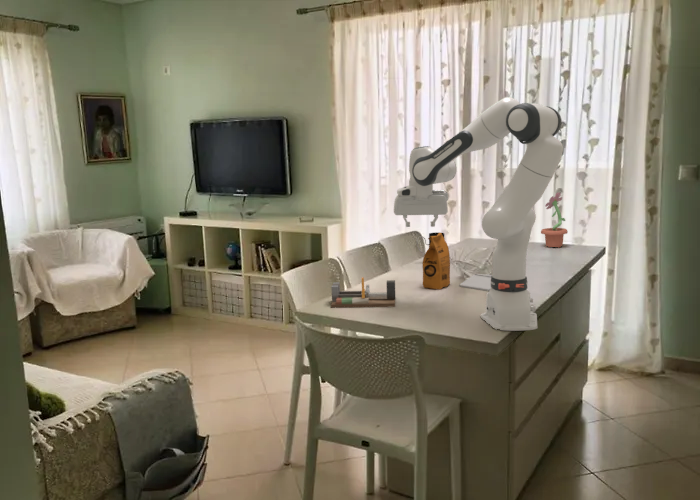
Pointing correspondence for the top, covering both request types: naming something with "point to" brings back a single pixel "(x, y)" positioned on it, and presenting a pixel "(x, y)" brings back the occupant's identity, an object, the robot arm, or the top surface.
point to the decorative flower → (555, 234)
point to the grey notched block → (382, 295)
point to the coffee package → (436, 264)
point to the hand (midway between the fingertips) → (420, 226)
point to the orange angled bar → (363, 289)
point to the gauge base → (371, 304)
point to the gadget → (478, 282)
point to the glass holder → (429, 240)
